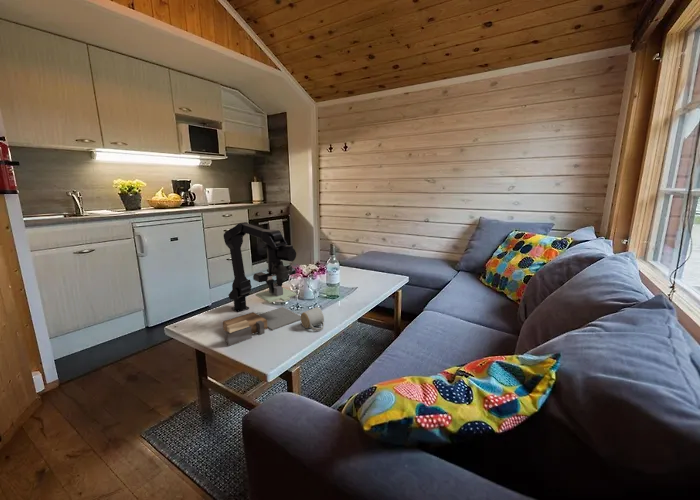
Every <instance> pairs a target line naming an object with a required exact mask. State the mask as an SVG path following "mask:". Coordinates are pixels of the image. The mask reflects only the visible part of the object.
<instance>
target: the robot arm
mask: <svg viewBox="0 0 700 500" xmlns="http://www.w3.org/2000/svg"><path fill="white" fill-rule="evenodd" d="M246 234H247V235H250V236H252V237H256V238H259V239H260V240H261V241H262V242H263V243H264V244H265V245H264V246H263V247H262V248H263V249H266V252H267V260H266V261H265V262H266V264H267V269H266V273H264V272H262V271H260V272H256V273H255V272H254V274H253V276H252V279H253V281H255V282H258V283H263V282H265V283H266V284H267V286H268V289H269V288H270V290H271V292H272V293H274V286H273V284H274V281H275V279H273V277H275V278H276V285H278V286H281V287H282V286H283V283H284V281H285V280H286V279H287V278H289V276H293V275H296V271H297V270H296V269H295V268H294V267H293V266H292V265H291V264H288V265H284V261H286V262H294V261H295V260H296V259H297V251H296V249H295V248H294V246H293V245H288V242H287V241H286V239H285V238H284V235H283V234H282V231H280V230H278V229H265V228H262V227H260V226H257V225H254V224H251V223H248V222H239V223H236V225H235V226H233V227H231V228H230V229H228V230H226V231H224V233H223V240H224V243H225V245H226V247H227V248H228V249H229V253H230V258H231V265H232V272H233V276H234V277H233V279H234V280H233V281H232V285H231V286H232V287H231V288H232V290H231V291H230V292H229V294H228V299H230V300H232V301H233V307H231V309H232V311H235V312H236V313H239V312H242V311H243V312H244V311H245V310H249V309H250V307H249V306H247V299H246V298H247V296H249V295H250V293H251V292H252V288H253V287H252V285H251V279H248V278H247V277H246V274H245V266H244V261H243V260H244V259H243V254H242V253H243V252H242V245H243V243H244V237H245V236H246Z"/></svg>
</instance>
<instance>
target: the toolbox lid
mask: <svg viewBox="0 0 700 500" xmlns="http://www.w3.org/2000/svg"><path fill="white" fill-rule="evenodd" d="M273 286H274V293H272V292H271V290H270V288H269V287H268V290H266V291H262V292H257V293H255V297H258V298H260V299H261V300H262V301H265V302H267V303H269V304H270V303H273V302H276V301H280V300H281V301H282V302H287V301H290V300H291V297H294V296H297V293H296V292H295V291H292V290H290V289H287V288H286V287H281V286H278V285H277V283H273Z"/></svg>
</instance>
